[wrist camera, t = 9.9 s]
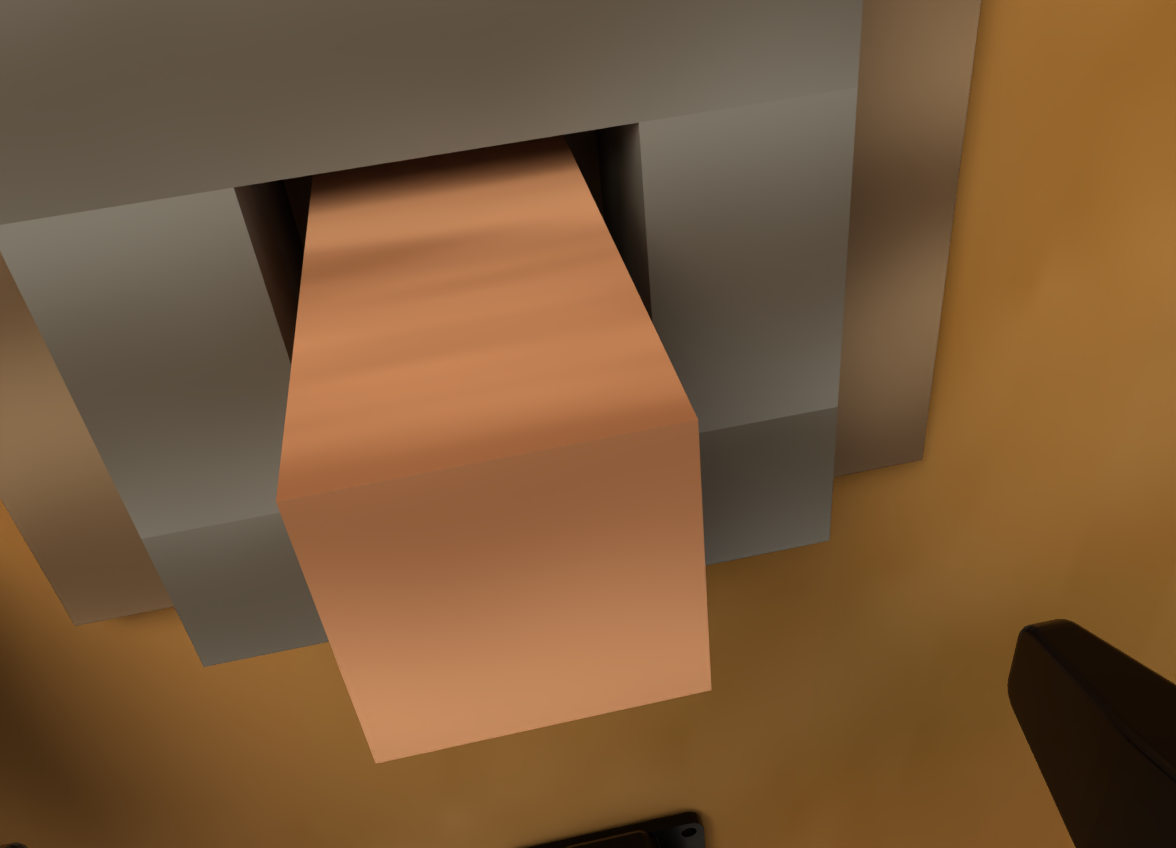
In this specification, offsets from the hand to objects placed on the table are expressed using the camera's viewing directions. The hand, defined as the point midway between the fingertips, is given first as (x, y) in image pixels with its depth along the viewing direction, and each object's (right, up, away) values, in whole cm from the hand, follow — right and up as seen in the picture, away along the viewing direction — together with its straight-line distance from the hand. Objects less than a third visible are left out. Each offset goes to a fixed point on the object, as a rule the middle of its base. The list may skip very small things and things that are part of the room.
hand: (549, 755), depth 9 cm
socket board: (-2, +7, +10) cm, 13 cm away
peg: (-2, +7, +10) cm, 12 cm away
